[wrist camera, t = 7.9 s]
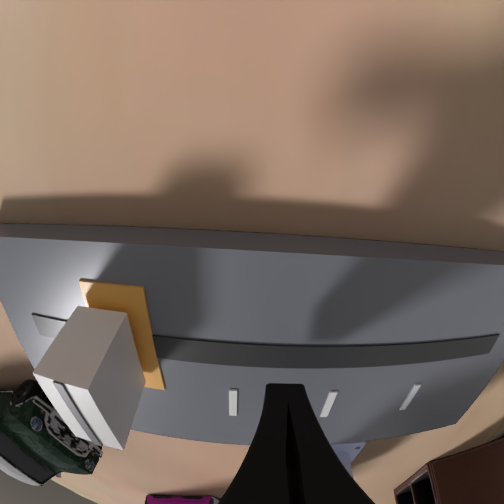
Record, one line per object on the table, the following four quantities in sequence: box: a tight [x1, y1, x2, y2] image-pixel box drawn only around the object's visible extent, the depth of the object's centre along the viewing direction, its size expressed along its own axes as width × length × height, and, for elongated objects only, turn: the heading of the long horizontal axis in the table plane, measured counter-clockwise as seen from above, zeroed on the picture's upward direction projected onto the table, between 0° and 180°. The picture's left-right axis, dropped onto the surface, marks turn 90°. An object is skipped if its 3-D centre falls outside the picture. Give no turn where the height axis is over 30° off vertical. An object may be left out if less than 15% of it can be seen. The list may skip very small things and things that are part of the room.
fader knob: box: [33, 306, 146, 450], centre depth 10 cm, size 4×2×4 cm, turn 177°
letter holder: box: [394, 436, 504, 504], centre depth 20 cm, size 10×20×14 cm, turn 86°
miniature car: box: [0, 380, 103, 486], centre depth 18 cm, size 9×18×8 cm, turn 112°
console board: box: [0, 224, 504, 445], centre depth 14 cm, size 14×30×2 cm, turn 87°
